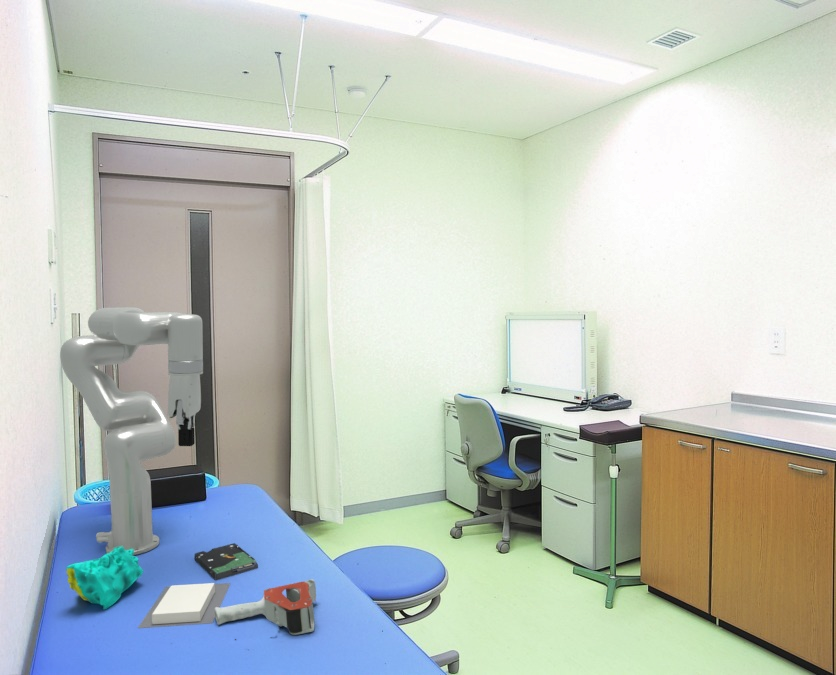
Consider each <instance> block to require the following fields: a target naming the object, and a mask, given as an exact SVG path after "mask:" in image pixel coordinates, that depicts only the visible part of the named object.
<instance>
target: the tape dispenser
mask: <svg viewBox="0 0 836 675" xmlns="http://www.w3.org/2000/svg"><path fill="white" fill-rule="evenodd" d="M284 591H285V593H286V595H285V594H283V592H284ZM316 600H317V588H316V581H315V579H313V578H312V579H311V578H310V579H309V578H308V580H307V579H306V580H304V581H299V582H294V583H289V584H285V585H280V586H276V587H270V588H266V589H264V590H263V597H262V598H261V599H259V601H254V602H253V601H252V602H247V603H246V602H244V603H238V604H234V605H228V606H224V607H223V606H222V607H221V606H220V607H215V609H214V610H215V621H216V623H217V625H218V626H220V625H222V624H225V623H227V622H232V621H233V622H234V621H237V620H242V619H246V618H251V617H255V616H257V615H263V616H265V617H266V620H268V621H269V622H271V623H273V624H275V625H277V626H278V627H280V628H281V627H285V628H286V629H287V631H288V633H289V634H290V635H293V636H296V635H297V636H298V635H301V634H307V633H311V632H314V630H315V613H314V606H313V602H315V601H316Z"/></svg>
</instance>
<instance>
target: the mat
mask: <svg viewBox="0 0 836 675" xmlns="http://www.w3.org/2000/svg"><path fill="white" fill-rule="evenodd" d="M170 587H171V586H165V587H164V589H163V590H162V591H161V593H160V594H159V596H158V597H157V598H156V600H155V601H154V603H153V604H152V606H151V607H150V609H149V610H148V612H147V613H146V615H145V616H144V617H143V619H142V620H141V622H140V624H139V625H138V626H137V629H147V628H148V629H150V628H162V627H177V626H178V627H179V626H195V625H208V624H213V622H214V621H215V620H216V618H215V610H214V609H215V607H221V606H222V604H223V601H224V599H225V597H226V594H227V592H228V591H229V590H228V589H230V587H231V582H223V583H215V593H214V595H213V597H212V599H211V601H210V603H209V605H208V607H207V609H206V611H205V613H204V615H203V617H202V619H201V621H197V622H182V623H166V624H152V614H153V612H154V611H155V609H156V608H157V606H158V605H159V603H160V602H161V600H162V599H163V597H164V596H165V594H166V593H167V591H168V590H169V588H170Z"/></svg>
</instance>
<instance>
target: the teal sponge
mask: <svg viewBox="0 0 836 675" xmlns="http://www.w3.org/2000/svg"><path fill="white" fill-rule="evenodd" d="M133 553H134V550H133V549H129V550H126V551H125V549H124V547H123V546H121V547H119V546H118V547H117V548H114V549H113V551H111V552H110V553H104V555H102V556H101V557H99V558H94V559H91V560H84V561H83V562H82V561H81V562H75V563H72V564H69V565H67V566H66V569H65V570H66V575H67V577H68V578H67V583H68V584H69V588H70V589H71V590H73V591H75V593H77V595H78V596H79V597H80V598H81V599H82V600H83V601H87V602H89V603H90V604H98V605H100V606H102V609H103V610H107V609H108V608H110V607H112V606H113V605H114V604H115V603H116V602H117V601H118V600H119V599H120V598H121V597H122V593H124V592H125V591H126V590H128V589H129V588H130V587H131V586H132V585H133V584H134V583H135V581H137V580H138V579H139V578H140V577H141V576H142V575H143V573H144V569H143V568H142V567H141V566H140V565H139V562H138V561H139V558H138V557H137V556H135V555H133Z"/></svg>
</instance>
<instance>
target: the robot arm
mask: <svg viewBox="0 0 836 675" xmlns="http://www.w3.org/2000/svg"><path fill="white" fill-rule="evenodd" d="M87 326H88V329H89V331H90V332H91V334H90V335H89V334H88V335H81V336H75V337H72V338H68V340H66V341H65V342H63V344H62V345H61V347H60V350H59V351H60V352H59V358H60V364H61V368H62V370H63V372H64V374H65V376H66V377H67V379H68V380H69V382H70V383H71V384H72V385H73V387H75V388H76V390H77V391H78V392H79V393H80V395H81V397H82V399H83V400H84V402H85V404H86V406H87V409H88V410H89V412H90V413H91V416H92V417H93V420H94V421H95V422H96V424H97V426H98V427H99V428H100V429H101V430H103V431H109V432H108V434H107V435H106V436H105V437H104V440H103V452H104V455H105V460H106V464H107V465H106V466H107V469H108V478H109V497H110V516H111V519H110V520H111V530H109V532H106V531H100V532H97V533H96V535H95V540H96V542H97V543H107V545H106V546H105V554H107V553H110V552H111V551H113V549H114V548H117V547H118V546H119V547H121V546H123V547H124V549H125V551H126V550H129V549H133V550H134V553H133V556H135V555H141V554H144V553H147V552H149V551H152V550H153V549H155V548H156V547H158V546H159V544H160V536H158V535H156V534H153V513H152V512H153V510H152V508H153V507H152V485H151V484H152V483H151V476H150V474H149V472H148V471H147V470H146V468H144V467H143V464H142V463H141V462H144V461H147V460H152V459H155V458H159V457H163V456H166V455H169V454H170V453H171V452H173V451H174V449H175V447H176V444H177V443H178V447H193V445H195V440H196V439H195V438H196V437H195V435H196V434H195V425H196V422H195V420H196V414H197V413H199V411H200V410H201V407H202V406H201V404H202V393H201V392H202V391H201V390H202V389H201V376H200V375H203V374H204V359H203V358H204V357H203V356H204V354H203V352H204V349H203V348H204V346H203V345H204V344H203V343H204V342H203V341H204V338H203V334H204V332H203V328H204V326H203V319H202V317H201V316H200V315H198V314H193V313H188V314H187V313H186V314H185V313H183V312H176V311H174V312H172V311H171V312H169V311H168V312H162V311H161V312H154V311H153V312H146V311H145V310H143V309H142V308H139V307H135V306H133V307H132V306H125V307H122V306H120V307H118V306H117V307H116V306H115V307H101V308H99V309H96V310H95V311H93V312H92V313H91V314H90V316H89V317H88V320H87ZM155 345H167V363H168V364H167V369H168V371H167V373H168V375H169V383H168V391H167V415H166V413H165V412H164V410H163V408H162V407H161V405H160V403H159V402H158V400H157V398H156V396H154V395H153V394H151V393H150V392H148V391H145V390H136V391H131V392H130V391H129V392H123V391H121V390H120V389H119V387H118V385H117V384H116V382H115V380H114V379H113V378H112V377H111V376H110V375H109V374H107V373H106V372H104V371H102V370H101V369H98V367H99V366H101V367H102V366H111V365H122V364H125V363H126V362H129V361H130V360H131V359H132V358H133V357H134V355H135V353H136V352H137V351H138V349H139V347H140V346H155ZM168 418H169V419H174V418H176V419H175V420H176V421H175V424H176V425H177V430H178V432H177V433H178V435H177V436H178V438H177V436H176V433H175V430H174V427H173V426H172V423H171V422H170V420H169V419H168ZM177 439H178V442H177Z"/></svg>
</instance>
